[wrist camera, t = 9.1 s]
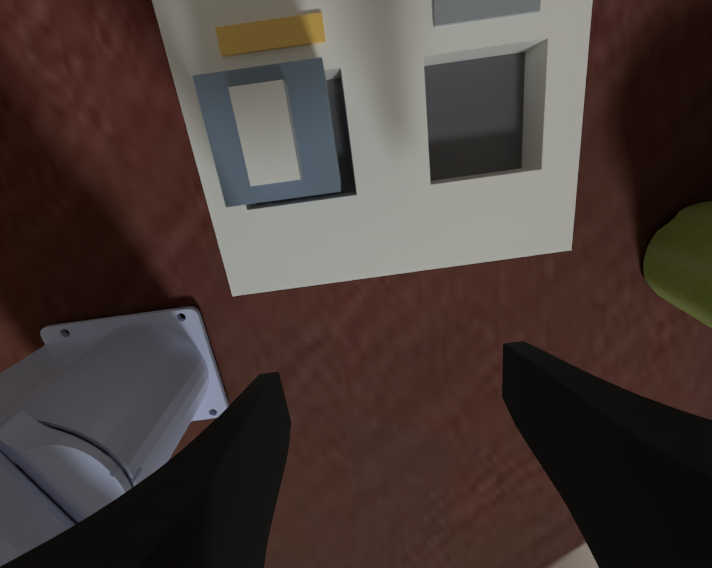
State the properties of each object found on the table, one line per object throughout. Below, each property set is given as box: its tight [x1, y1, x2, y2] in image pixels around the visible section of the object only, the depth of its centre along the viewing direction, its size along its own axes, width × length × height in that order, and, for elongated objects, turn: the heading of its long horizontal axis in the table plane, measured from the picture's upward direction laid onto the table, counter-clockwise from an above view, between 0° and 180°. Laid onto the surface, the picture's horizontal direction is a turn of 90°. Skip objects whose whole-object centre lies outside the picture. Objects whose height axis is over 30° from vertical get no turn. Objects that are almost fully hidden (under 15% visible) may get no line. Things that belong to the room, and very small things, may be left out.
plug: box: [193, 57, 341, 207], centre depth 14 cm, size 4×4×8 cm
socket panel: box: [152, 0, 593, 296], centre depth 17 cm, size 18×14×3 cm
